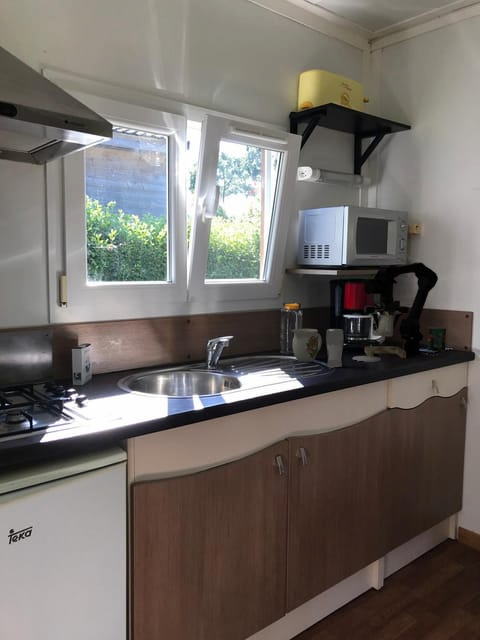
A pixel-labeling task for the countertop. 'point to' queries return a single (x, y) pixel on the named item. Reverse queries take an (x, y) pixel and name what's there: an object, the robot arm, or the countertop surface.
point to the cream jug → (385, 325)
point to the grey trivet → (367, 358)
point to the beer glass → (334, 347)
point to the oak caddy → (385, 351)
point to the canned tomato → (437, 339)
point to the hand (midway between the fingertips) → (385, 328)
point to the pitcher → (306, 344)
